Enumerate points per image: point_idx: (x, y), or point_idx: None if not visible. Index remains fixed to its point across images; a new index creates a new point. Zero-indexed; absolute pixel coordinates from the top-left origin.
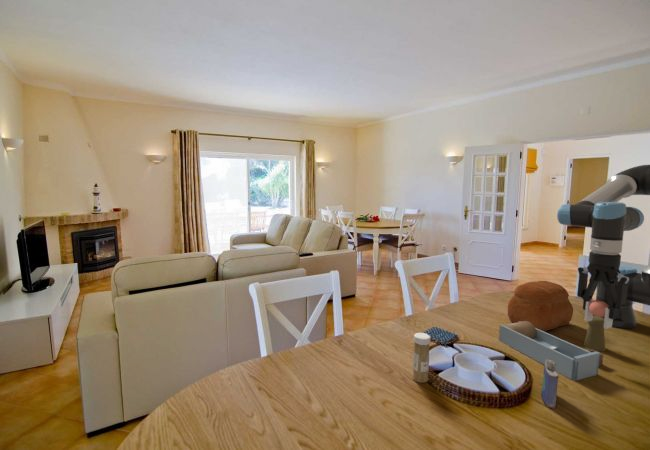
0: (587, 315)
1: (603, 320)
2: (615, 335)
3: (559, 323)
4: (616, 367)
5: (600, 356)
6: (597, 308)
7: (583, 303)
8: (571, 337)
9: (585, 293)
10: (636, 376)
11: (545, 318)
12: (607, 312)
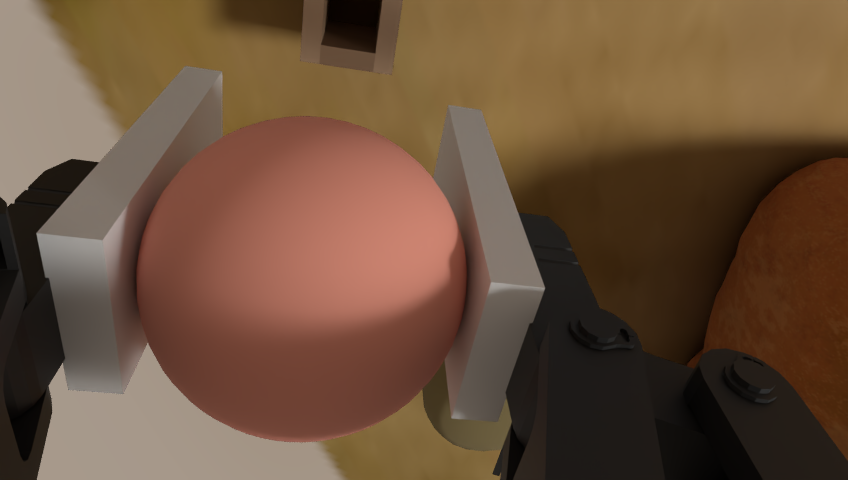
0: (456, 148)
1: (441, 411)
2: (457, 465)
3: (711, 339)
4: (246, 81)
5: (303, 18)
6: (255, 167)
7: (584, 284)
8: (601, 271)
9: (641, 459)
10: (119, 62)
11: (829, 239)
12: (90, 182)
